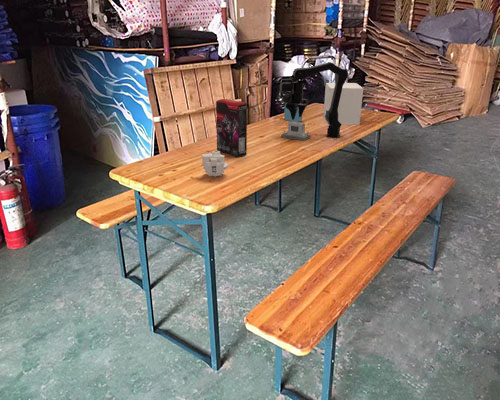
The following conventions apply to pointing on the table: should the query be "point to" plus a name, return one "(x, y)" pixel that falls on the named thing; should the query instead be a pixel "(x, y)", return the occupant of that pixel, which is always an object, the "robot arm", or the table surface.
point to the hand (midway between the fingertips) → (296, 118)
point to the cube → (346, 103)
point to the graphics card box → (231, 127)
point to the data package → (288, 115)
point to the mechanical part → (214, 163)
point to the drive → (296, 128)
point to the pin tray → (302, 138)
